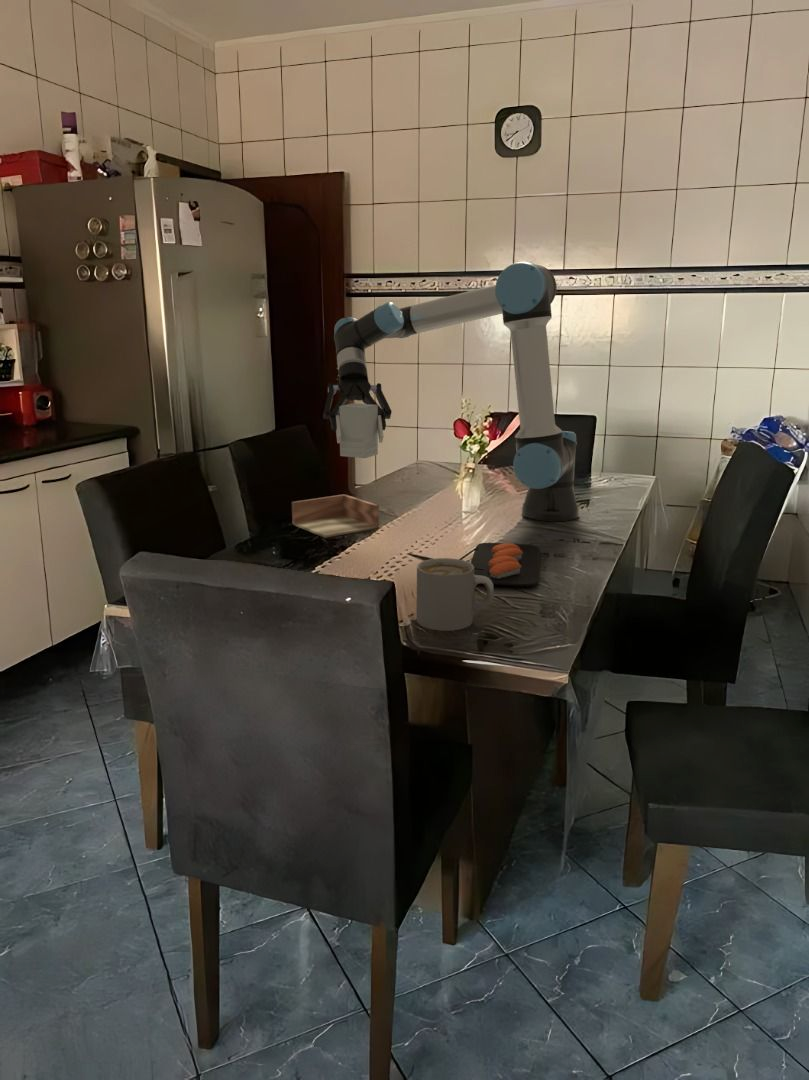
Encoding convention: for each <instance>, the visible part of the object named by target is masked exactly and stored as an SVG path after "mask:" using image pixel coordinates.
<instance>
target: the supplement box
mask: <svg viewBox="0 0 809 1080" xmlns="http://www.w3.org/2000/svg"><path fill="white" fill-rule="evenodd" d="M378 405H379V404H378ZM378 405H371V404H365V403H354V402H353V403H348V404H347V403H346V404H345V405H343V406H339V410H340V413H339V420H340V430H341V442H340V443H339V454H340V455H339V456H340V457H347V458H359V459H367V458H371V457H374V456H377V455H378V454H379V450H378V447H379V445H378V443H379V437H378Z"/></svg>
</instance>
